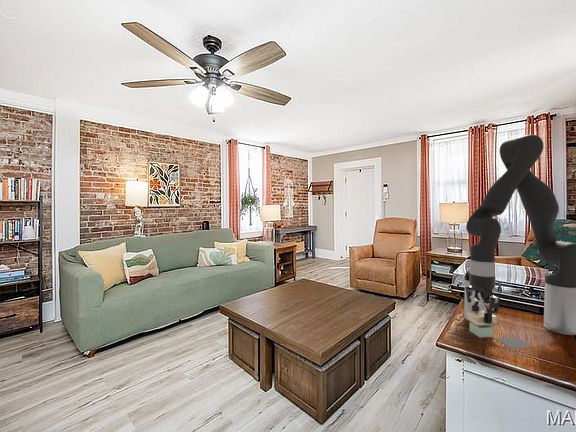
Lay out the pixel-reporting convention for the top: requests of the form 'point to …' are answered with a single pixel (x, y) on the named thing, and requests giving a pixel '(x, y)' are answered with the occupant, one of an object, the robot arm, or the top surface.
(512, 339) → the mat
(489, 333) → the mint green open box
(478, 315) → the lid
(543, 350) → the top surface
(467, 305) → the travel mug
